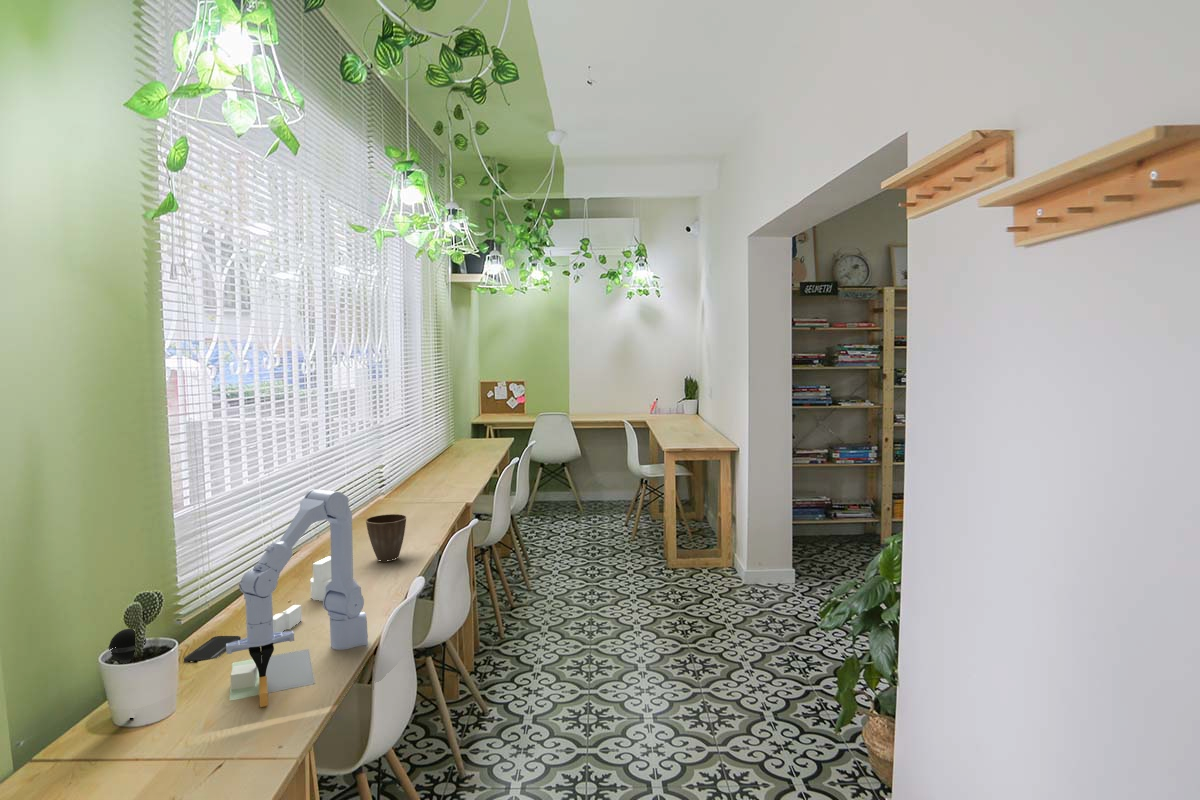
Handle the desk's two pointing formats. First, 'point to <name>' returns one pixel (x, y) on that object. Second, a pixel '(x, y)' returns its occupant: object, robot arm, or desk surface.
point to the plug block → (243, 676)
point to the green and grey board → (280, 674)
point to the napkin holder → (287, 618)
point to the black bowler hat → (123, 645)
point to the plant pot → (386, 535)
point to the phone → (211, 648)
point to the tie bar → (263, 691)
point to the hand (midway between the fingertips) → (262, 675)
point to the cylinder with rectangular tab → (320, 578)
